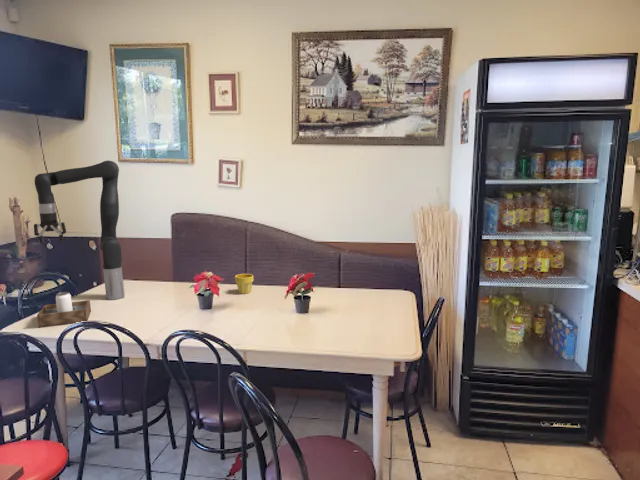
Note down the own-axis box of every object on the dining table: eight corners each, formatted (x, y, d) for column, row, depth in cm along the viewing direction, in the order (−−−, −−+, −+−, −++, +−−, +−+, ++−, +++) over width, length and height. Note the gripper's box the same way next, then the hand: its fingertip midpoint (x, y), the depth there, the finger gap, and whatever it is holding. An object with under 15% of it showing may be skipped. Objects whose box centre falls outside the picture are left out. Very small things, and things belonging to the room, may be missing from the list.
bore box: (91, 311, 228) (89, 300, 227) (87, 321, 213) (85, 309, 212) (45, 316, 221) (44, 305, 220) (38, 327, 206) (36, 315, 205)
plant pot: (246, 288, 264) (246, 272, 262) (257, 292, 257) (257, 275, 255) (232, 292, 257) (231, 275, 255) (242, 296, 250) (242, 279, 248)
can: (66, 320, 213) (63, 295, 211) (54, 319, 215) (51, 295, 212) (76, 315, 219) (73, 291, 217) (65, 314, 221) (62, 291, 219)
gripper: (64, 210, 240) (68, 240, 243) (33, 212, 235) (37, 242, 238) (62, 212, 233) (65, 242, 236) (30, 213, 228) (34, 244, 231)
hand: (51, 242), depth 237 cm, fingers open, 8 cm apart
